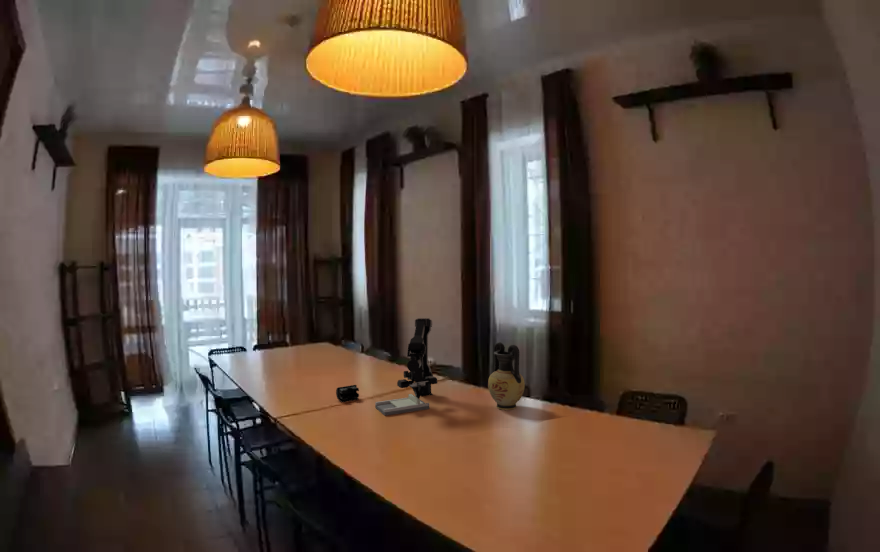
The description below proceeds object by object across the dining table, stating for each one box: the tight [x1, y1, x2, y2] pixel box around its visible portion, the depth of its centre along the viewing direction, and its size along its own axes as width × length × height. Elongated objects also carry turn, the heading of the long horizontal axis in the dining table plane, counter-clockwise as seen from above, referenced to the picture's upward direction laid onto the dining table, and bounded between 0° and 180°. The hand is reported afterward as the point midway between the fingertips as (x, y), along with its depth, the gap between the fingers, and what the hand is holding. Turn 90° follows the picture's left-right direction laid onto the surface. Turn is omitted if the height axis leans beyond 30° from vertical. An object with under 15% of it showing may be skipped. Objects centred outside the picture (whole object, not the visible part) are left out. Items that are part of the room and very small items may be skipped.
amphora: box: [487, 342, 526, 411], centre depth 238 cm, size 18×17×30 cm
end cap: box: [335, 384, 360, 403], centre depth 258 cm, size 10×7×7 cm
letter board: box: [374, 397, 430, 416], centre depth 241 cm, size 22×14×3 cm, turn 114°
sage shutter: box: [390, 393, 421, 407], centre depth 241 cm, size 11×11×3 cm
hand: (417, 399), depth 244 cm, fingers closed
